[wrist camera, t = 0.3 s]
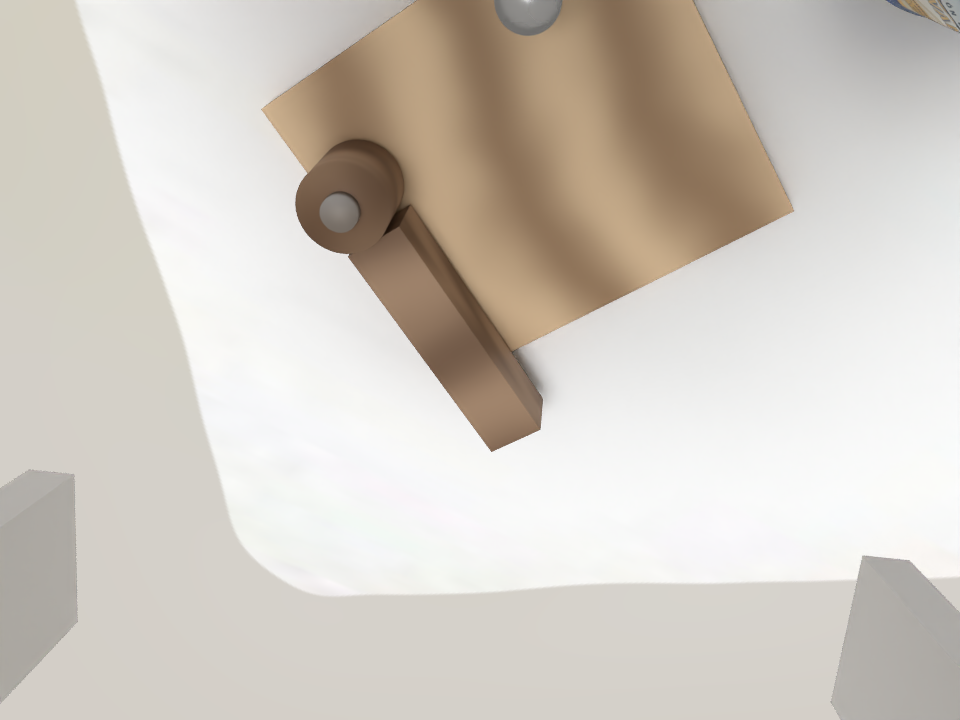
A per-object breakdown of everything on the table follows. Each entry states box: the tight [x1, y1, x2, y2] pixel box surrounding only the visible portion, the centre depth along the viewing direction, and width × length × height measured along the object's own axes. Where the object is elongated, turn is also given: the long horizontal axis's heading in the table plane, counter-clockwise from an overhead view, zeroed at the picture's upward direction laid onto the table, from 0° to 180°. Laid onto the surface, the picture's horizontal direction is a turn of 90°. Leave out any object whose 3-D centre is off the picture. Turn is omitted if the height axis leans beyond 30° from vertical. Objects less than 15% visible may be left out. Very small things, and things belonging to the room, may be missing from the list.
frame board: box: [261, 0, 794, 352], centre depth 38 cm, size 18×16×1 cm
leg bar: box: [295, 140, 543, 452], centre depth 39 cm, size 16×4×4 cm, turn 32°
